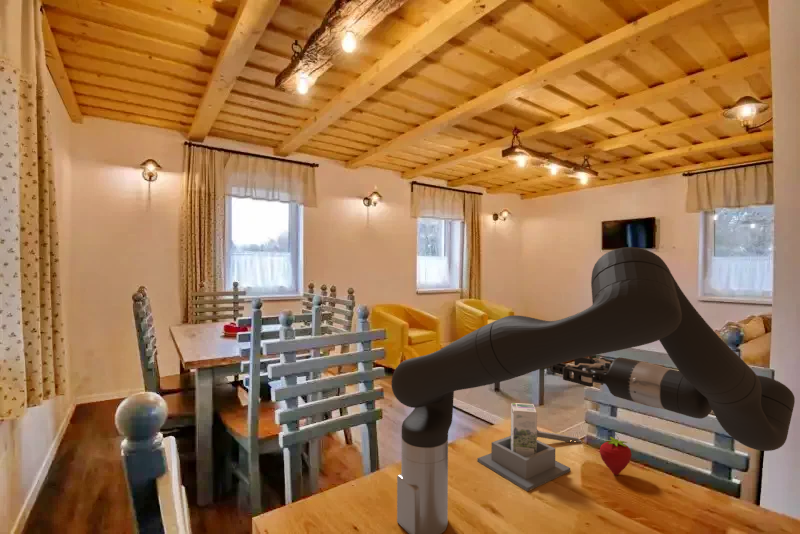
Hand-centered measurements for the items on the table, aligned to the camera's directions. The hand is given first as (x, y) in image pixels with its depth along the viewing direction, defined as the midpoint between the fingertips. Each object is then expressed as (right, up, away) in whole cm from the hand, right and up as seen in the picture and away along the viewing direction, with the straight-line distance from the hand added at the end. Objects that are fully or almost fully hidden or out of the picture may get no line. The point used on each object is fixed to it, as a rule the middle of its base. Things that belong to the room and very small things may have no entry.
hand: (563, 363), depth 87 cm
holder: (-4, -30, +15) cm, 33 cm away
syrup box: (-4, -29, +15) cm, 33 cm away
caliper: (+7, -30, +28) cm, 41 cm away
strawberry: (+17, -30, +11) cm, 36 cm away
